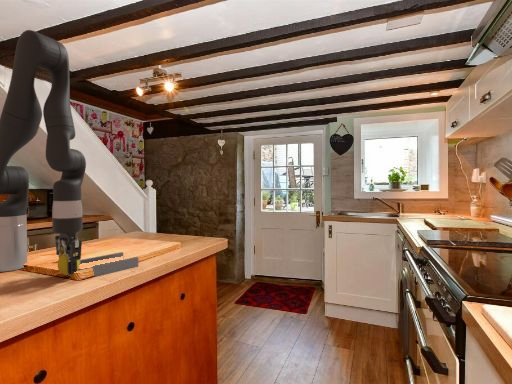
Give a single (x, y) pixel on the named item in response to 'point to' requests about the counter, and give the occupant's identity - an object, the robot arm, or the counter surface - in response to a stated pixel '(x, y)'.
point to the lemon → (65, 264)
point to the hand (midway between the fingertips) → (68, 271)
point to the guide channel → (111, 264)
